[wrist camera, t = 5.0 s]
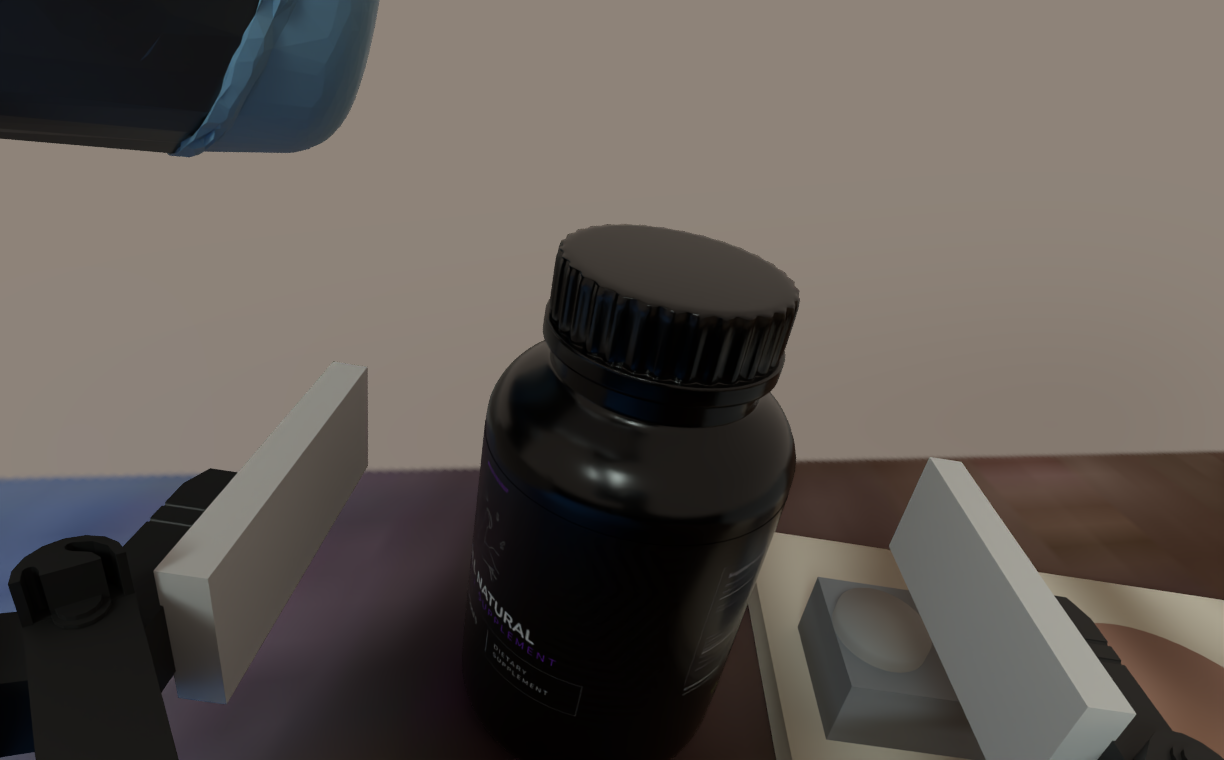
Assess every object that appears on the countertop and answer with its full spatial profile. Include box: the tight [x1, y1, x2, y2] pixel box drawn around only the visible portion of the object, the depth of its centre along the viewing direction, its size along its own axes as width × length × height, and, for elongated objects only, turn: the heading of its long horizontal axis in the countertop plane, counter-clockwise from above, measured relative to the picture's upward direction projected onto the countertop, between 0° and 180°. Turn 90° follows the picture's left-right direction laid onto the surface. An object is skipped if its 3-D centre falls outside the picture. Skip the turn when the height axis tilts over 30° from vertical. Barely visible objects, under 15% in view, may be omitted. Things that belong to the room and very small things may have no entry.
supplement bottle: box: [462, 224, 800, 760], centre depth 17 cm, size 7×7×12 cm
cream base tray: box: [748, 532, 1224, 760], centre depth 19 cm, size 24×12×3 cm, turn 88°
